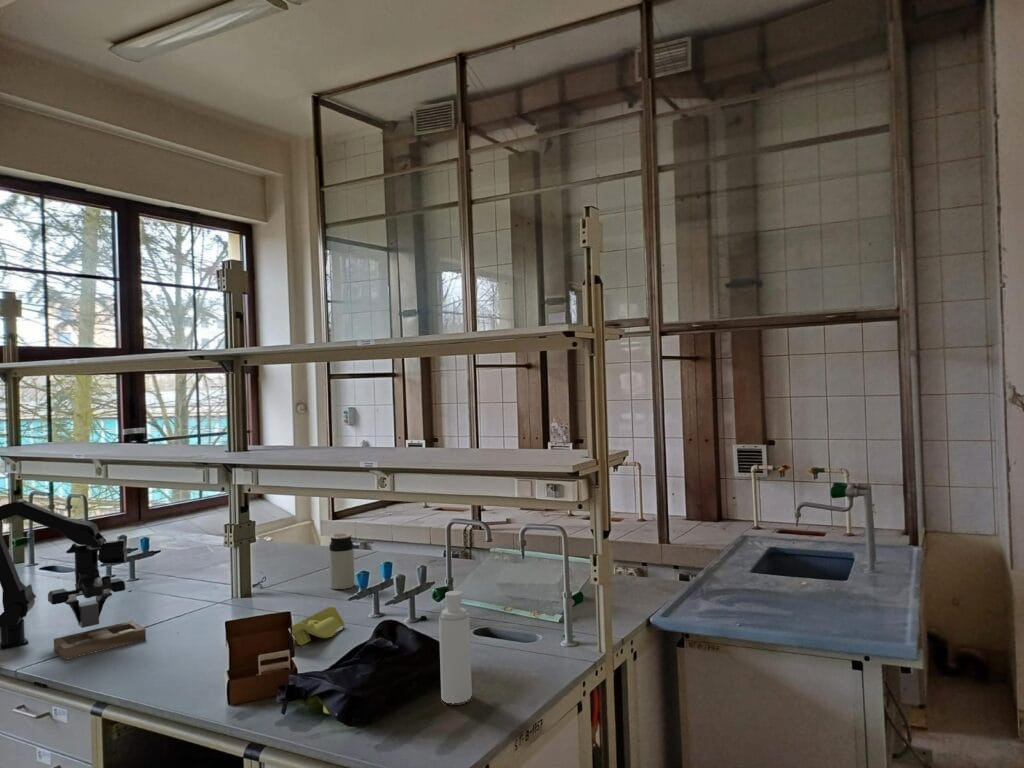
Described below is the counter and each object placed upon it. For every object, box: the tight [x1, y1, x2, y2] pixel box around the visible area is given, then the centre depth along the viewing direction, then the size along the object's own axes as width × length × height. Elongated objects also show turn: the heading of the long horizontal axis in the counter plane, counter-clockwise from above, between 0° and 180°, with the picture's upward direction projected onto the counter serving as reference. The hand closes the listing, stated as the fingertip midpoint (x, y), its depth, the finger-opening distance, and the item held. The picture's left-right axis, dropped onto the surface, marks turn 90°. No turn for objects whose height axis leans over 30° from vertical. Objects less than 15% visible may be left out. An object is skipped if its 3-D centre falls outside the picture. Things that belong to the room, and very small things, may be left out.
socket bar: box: [53, 620, 147, 660], centre depth 203 cm, size 11×20×3 cm, turn 134°
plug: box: [77, 600, 100, 629], centre depth 212 cm, size 4×4×6 cm
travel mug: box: [329, 532, 355, 590], centre depth 253 cm, size 8×8×18 cm
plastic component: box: [291, 605, 345, 646], centre depth 203 cm, size 20×7×10 cm
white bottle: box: [438, 590, 473, 704], centre depth 161 cm, size 7×7×25 cm
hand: (88, 620), depth 212 cm, fingers closed on plug, 4 cm apart
